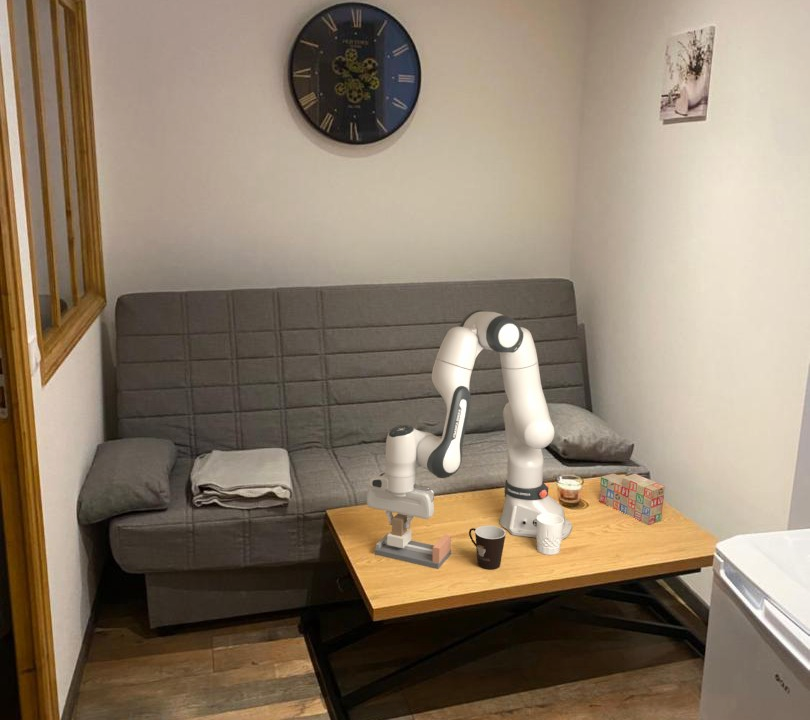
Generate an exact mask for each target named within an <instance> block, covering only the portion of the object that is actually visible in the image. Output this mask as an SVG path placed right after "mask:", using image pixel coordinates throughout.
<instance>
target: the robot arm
mask: <svg viewBox="0 0 810 720" xmlns="http://www.w3.org/2000/svg"><path fill="white" fill-rule="evenodd" d="M482 350H486V351H487V350H490V351H495V352H497V353H498V354H499V356H500V357H499V358H500V365H501V366H500V367H501V373H502V380H503V381H502V382H503V386H504V392H505V394H506V396H507V397H506V398H507V400H508V402H507V403H506V404H505V406H504V408H503V410H502V416H503V417H502V418H503V422H504V429H505V430H504V431H505V442H506V448H507V449H506V450H507V451H506V452H507V465H506V466H507V469H506V471H507V472H506V479H505V483H504V504H503V509H502V512H501V515H500V519H499V524H500V525H501V527H503V529H506V530H507V531H508V532H509V533H510V535H512V536H516V537H517V536H518V537H525V538H527V537H528V538H535V539H537V537H536V530H537V516H538V515H540V514H544V513H552V514H556V515H559V516H561V517H562V518H563V519H564V524H563V533H562V540H564V539H566V538H567V537H568V536H570V534H571V533H572V530H573V523H572V522H571V521H570V520H569V519H566V515H565V509H564V507H563V506H562V505H561V504H560V503H559V502H557V501H556V499H553V497H551V496H550V494H549V488H550V484H549V483H548V484H547V485H546V484H545V482H544V481H543V477H544V462H545V461H544V455H543V450H542V449H545V448H546V447H548V446H549V445H550V444H551V443H552V442H553V440H554V437H555V427H554V424H553V422H552V419H551V415H550V412H549V407H548V404H547V400H546V397H545V394H544V390H543V387H542V382H541V375H540V367H539V361H538V359H539V358H538V354H537V348H536V345H535V342H534V339H533V336H532V333H531V332H530V330H529V329H527V328H525V327H524V326H523V327H522V326H520V324H519V323H518V322H517V321H516V320H515V319H514V318H512V317H511V316H509V315H505V314H501V313H498V312H496V311H486V310H480V309H479V310H473V311H470V312H469V313H467V314H466V315H465V317H463V319H462V321H461V323H460V324H459V325H458V326H454V327H451V328H450V329H449V330H448V331H447V333H446V335H445V336H444V338H443V340H442V342H441V344H440V347H439V350H438V352H437V354H436V357H435V361H434V363H433V367H432V372H431V381H432V384H433V386H434V387H435V389H436V391H437V392H438V393H439V395H440V396H441V398H442V399H443V401H444V403H445V406H446V407H445V408H446V416H445V422H444V426H443V430H442V431H443V432H442V436H441V438H440V437H438V436H437V435H435V434H434V433H431V432H429V431H425V430H418V429H416V428H415V427H413V426H411V425H408V424H402V425H397V426H394V427H392V428H391V429H389V431H388V433H387V436H386V440H385V441H386V443H385V455H384V456H385V460H386V467H385V471H381V472H380V471H379V472H378V473H376V474H374V475H373V476H372V477H371V478H369V480H368V484H369V487H367V492H366V505H367V506H368V508H371V509H375V510H376V509H377V510H381V511H385V515H386V517H387V519H388V520H389V523H388V524H389V525H390V526H392V518H393V517H394V515H393V513H394V514H395V513H396V514H403V515H407V521H405V522H404V523H403V525H404V526H403V528H407V530H410V528H411V522H412V521H413V518H420V519H425V520H429V519H431V517H432V516H433V515H434V514H435V505H434V502H435V501H434V500H435V492H434V491H433V490H432V489H431V488H430V486H424V485H420V484H417V468H418V467H421V468H422V467H423V468H424V469H426V470H427V471H429V472H430V473H431V474H432V475H434V476H435V477H437V478H439V479H447V478H449V477H451V476H453V475H454V474H456V472H458V471H459V469H460V467H461V465H462V462H463V444H464V443H463V442H464V438H465V433H466V428H467V424H468V419H469V413H470V407H471V399H472V398H471V397H472V396H471V392H470V383H471V382H470V381H471V375H472V373H473V369H474V365H475V361H476V359H477V356H478V355H479V354H480V352H482Z"/></svg>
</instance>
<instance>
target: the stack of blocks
mask: <svg viewBox="0 0 810 720" xmlns="http://www.w3.org/2000/svg"><path fill="white" fill-rule="evenodd" d="M599 483H600V489H599V503H601V502H602V503H601V504H603V503H604V505H605V504H606V505H605V506H607V505H608V506H607V507H609V506H610V507H609V508H611V507H613V508H614V509H613V508H612V509H613V510H615V509H616V510H615V511H617V510H619V511H618V512H620V511H621V512H620V513H622V512H623V513H622V514H624V513H625V514H624V515H626V514H627V515H626V516H628V515H629V517H630V516H632V517H633V518H632V517H631V518H632V519H634V518H635V520H636V519H637V520H636V521H638V520H639V522H640V521H641V523H643V524H644V525H646V526H650V525H653V524H656V523H659V522H661V521H662V515H663V513H662V512H663V505H664V498H665V489H666V488H665V487H666V486H664V485H662V484H660V483H658V482H657V481H654V480H652V479H649V478H646V477H643V476H641V475H639V474H637V473H633V474H632V473H631V474H629V475H626V476H624V477H623V476H621V475H619V474H615V473H611V474H606V475H603V476H600V482H599Z"/></svg>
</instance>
